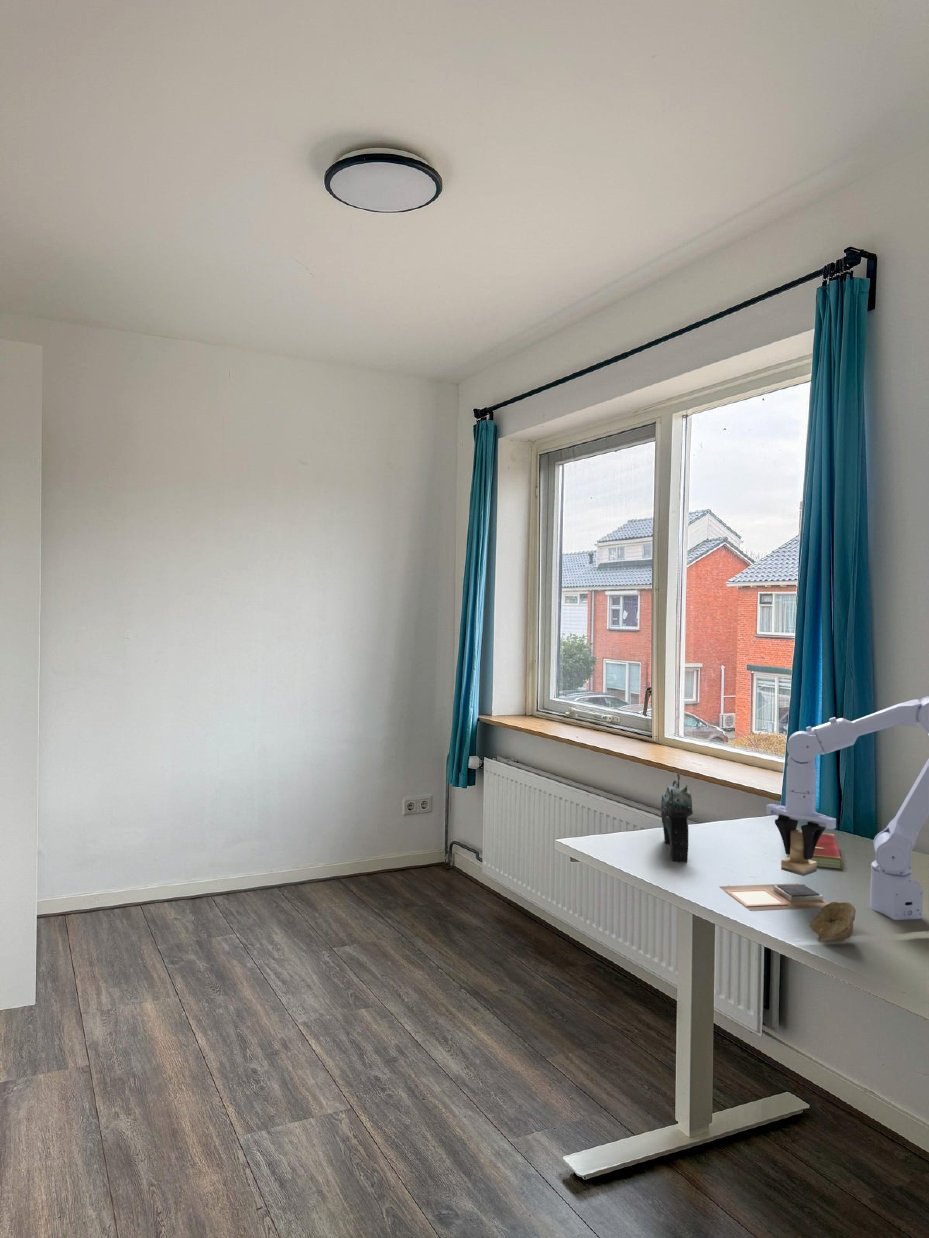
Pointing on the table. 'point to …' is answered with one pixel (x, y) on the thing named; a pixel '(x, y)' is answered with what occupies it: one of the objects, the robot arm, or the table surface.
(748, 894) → the square coaster
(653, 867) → the table surface
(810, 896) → the ink pad
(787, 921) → the table surface
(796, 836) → the stamp
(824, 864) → the hardcover book
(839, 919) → the fossil
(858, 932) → the table surface
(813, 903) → the board
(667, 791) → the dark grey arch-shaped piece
